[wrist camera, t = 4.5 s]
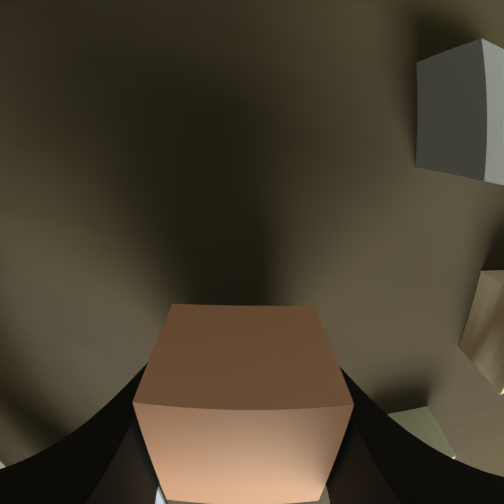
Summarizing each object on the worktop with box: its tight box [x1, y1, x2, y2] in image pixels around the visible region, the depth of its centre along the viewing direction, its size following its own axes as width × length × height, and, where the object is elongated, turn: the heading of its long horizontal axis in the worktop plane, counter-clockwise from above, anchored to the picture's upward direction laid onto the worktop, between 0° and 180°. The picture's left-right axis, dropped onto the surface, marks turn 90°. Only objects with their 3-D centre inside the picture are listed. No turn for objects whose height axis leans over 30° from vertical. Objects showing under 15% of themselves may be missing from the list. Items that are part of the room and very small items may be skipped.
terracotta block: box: [133, 304, 354, 504], centre depth 9 cm, size 4×4×4 cm
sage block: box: [387, 406, 456, 459], centre depth 14 cm, size 4×4×4 cm
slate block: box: [415, 38, 504, 185], centre depth 9 cm, size 4×4×4 cm
